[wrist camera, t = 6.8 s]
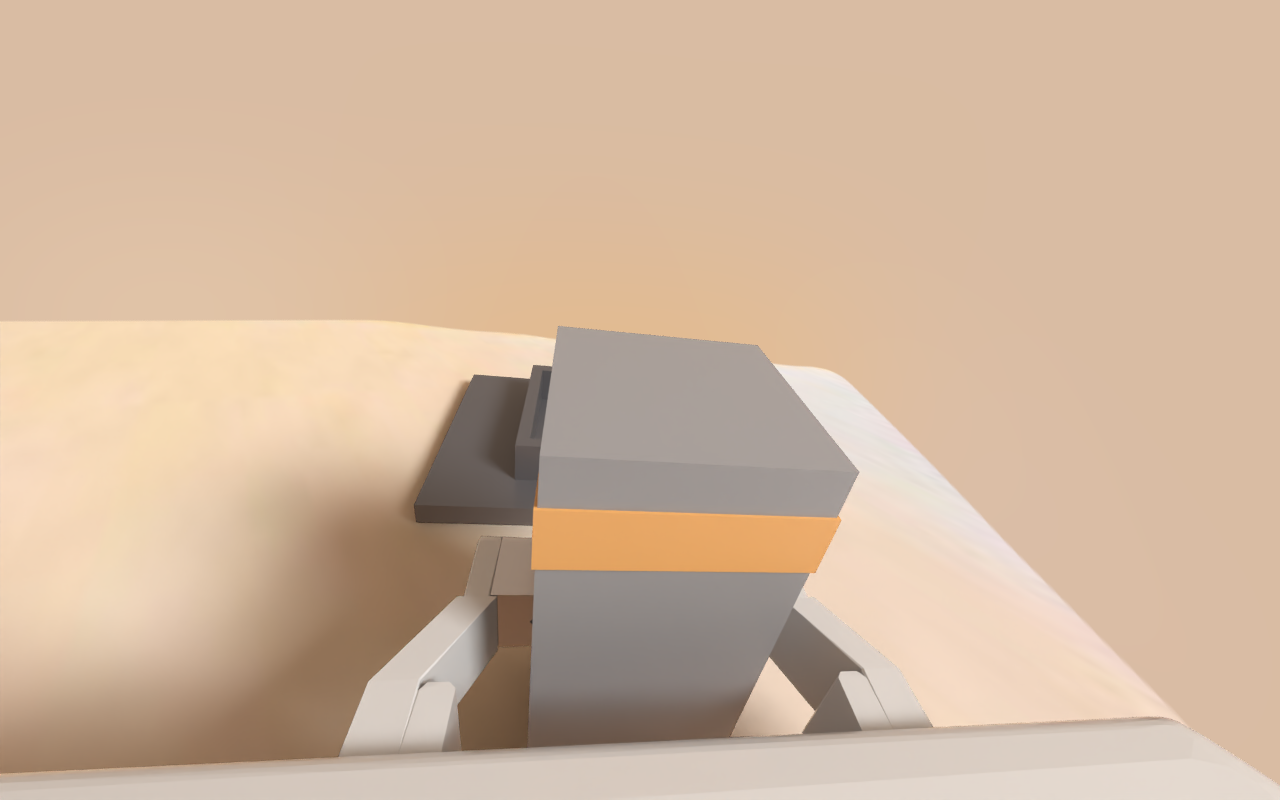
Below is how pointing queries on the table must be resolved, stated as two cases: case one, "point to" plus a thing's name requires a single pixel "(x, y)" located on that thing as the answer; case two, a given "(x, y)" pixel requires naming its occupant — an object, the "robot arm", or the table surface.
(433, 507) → the socket
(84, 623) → the table surface
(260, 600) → the table surface
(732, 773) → the robot arm
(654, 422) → the plug
